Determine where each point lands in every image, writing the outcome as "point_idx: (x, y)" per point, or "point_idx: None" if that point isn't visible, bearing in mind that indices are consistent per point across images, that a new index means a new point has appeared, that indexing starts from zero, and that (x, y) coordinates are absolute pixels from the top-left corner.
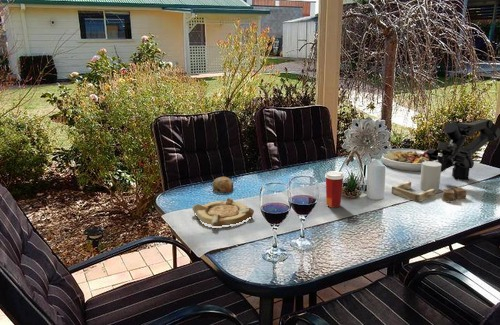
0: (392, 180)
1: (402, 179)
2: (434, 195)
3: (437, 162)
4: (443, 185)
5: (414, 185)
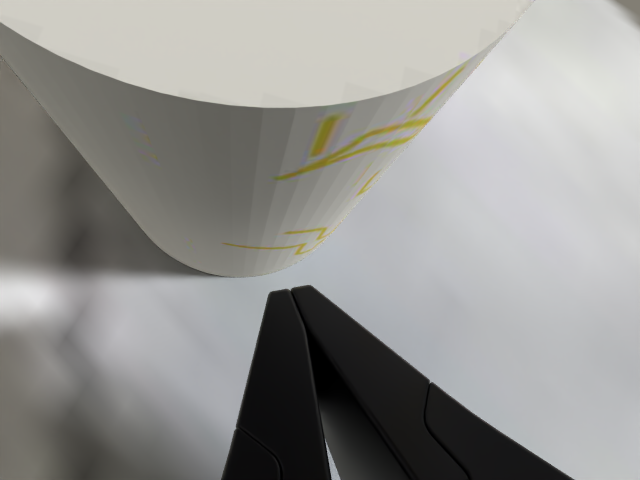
0: (622, 48)
1: (619, 158)
2: None
3: (282, 88)
4: None
5: None
